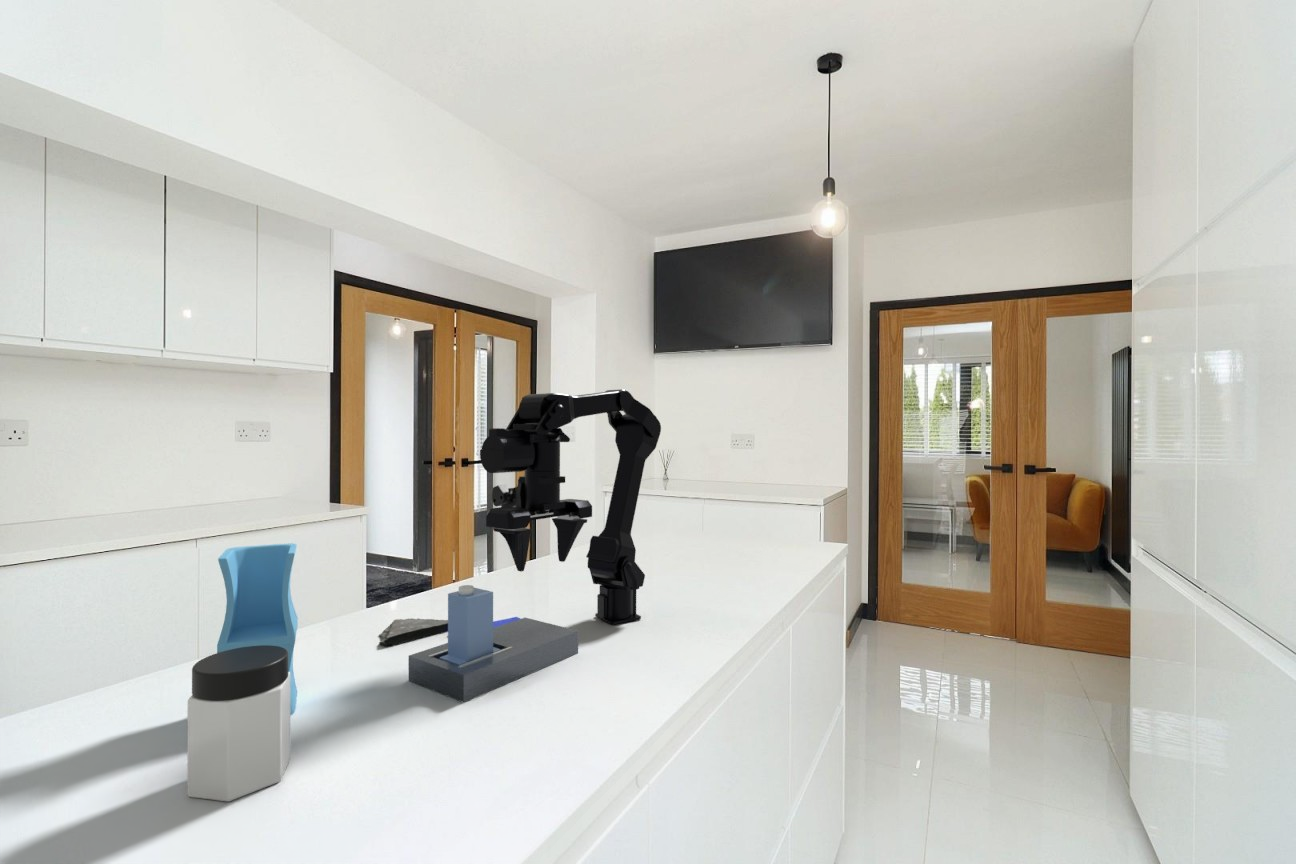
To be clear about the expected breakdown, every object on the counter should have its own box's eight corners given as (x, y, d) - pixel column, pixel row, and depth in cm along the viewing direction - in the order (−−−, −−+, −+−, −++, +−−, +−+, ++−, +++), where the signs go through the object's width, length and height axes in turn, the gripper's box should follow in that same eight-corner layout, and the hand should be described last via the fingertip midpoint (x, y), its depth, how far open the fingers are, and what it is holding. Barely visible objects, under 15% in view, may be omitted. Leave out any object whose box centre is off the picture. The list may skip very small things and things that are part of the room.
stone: (384, 652, 99) (384, 637, 99) (359, 639, 106) (358, 626, 106) (459, 631, 109) (458, 618, 109) (431, 621, 116) (431, 609, 116)
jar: (275, 747, 68) (275, 638, 68) (305, 773, 63) (305, 655, 63) (175, 782, 61) (176, 661, 61) (200, 814, 56) (200, 682, 56)
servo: (481, 666, 92) (481, 578, 92) (500, 672, 89) (500, 583, 89) (439, 681, 86) (439, 588, 86) (459, 689, 83) (459, 593, 83)
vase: (216, 730, 72) (217, 558, 72) (226, 703, 79) (227, 547, 79) (294, 715, 76) (295, 552, 76) (297, 691, 83) (297, 542, 83)
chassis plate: (524, 638, 104) (525, 616, 104) (578, 652, 97) (578, 630, 97) (408, 680, 86) (408, 654, 86) (463, 702, 79) (463, 674, 79)
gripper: (548, 466, 113) (548, 551, 113) (463, 471, 98) (463, 569, 98) (594, 468, 106) (594, 559, 106) (511, 474, 91) (510, 579, 91)
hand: (542, 566), depth 101 cm, fingers open, 9 cm apart
